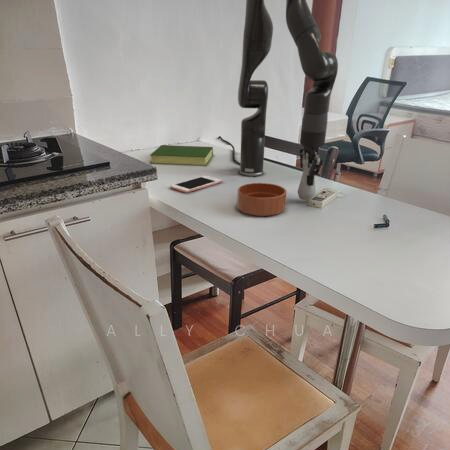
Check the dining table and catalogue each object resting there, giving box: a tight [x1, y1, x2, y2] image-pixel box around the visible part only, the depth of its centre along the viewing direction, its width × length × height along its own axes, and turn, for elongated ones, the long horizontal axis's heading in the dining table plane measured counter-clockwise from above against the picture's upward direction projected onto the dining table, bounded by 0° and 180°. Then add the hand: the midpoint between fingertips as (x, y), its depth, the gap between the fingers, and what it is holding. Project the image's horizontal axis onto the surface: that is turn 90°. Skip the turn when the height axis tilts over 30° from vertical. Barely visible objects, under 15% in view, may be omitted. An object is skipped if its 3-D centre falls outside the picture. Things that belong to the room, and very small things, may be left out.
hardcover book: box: [149, 144, 214, 167], centre depth 184 cm, size 25×19×4 cm
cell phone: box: [170, 175, 222, 194], centre depth 151 cm, size 9×18×1 cm, turn 137°
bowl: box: [236, 182, 287, 217], centre depth 130 cm, size 15×15×6 cm
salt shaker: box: [297, 158, 316, 201], centre depth 133 cm, size 6×6×13 cm
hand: (307, 184), depth 134 cm, fingers closed on salt shaker, 3 cm apart
